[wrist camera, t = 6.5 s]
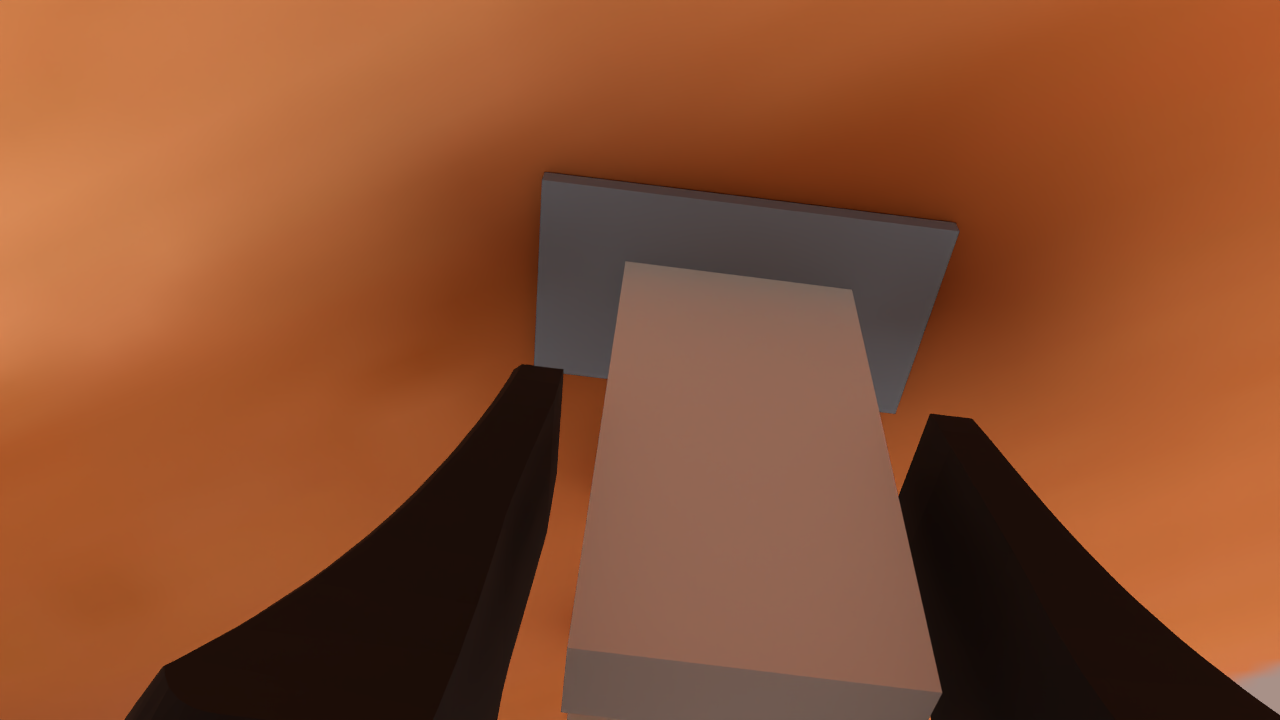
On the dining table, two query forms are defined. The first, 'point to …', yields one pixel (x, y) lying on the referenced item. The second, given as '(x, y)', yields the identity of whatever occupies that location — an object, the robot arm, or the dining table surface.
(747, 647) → the domino
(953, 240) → the plate
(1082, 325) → the dining table surface
